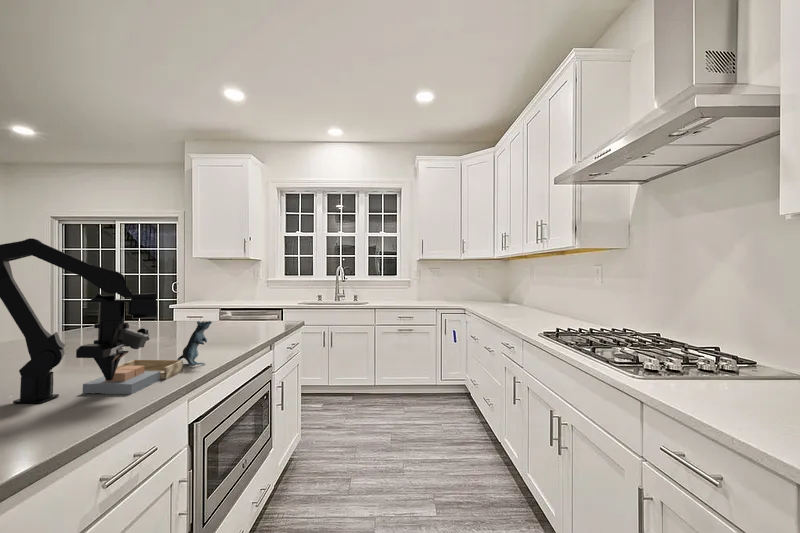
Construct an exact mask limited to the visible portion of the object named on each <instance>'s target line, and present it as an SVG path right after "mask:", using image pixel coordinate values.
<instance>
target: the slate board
mask: <svg viewBox="0 0 800 533" xmlns="http://www.w3.org/2000/svg"><path fill="white" fill-rule="evenodd" d="M159 381H160V371H144V373H143V374H140V375H138V376H136V377H133V378H131V379H129V380H126V381H105V377H104V375H103V376H101V377H98V378H95V379H93V380H90V381H88V382H84V383H82V394H83V395H88V394H87V393H92V394H91V395H94V394H93V393H101V394H100V395H133V394H134V393H137V392H139V391H141V390H142V389H144V388H146V387H149V386H150V385H152V384H155V383H156V382H159ZM85 393H86V394H85ZM102 393H103V394H102ZM104 393H105V394H104Z"/></svg>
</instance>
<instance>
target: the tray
mask: <svg viewBox="0 0 800 533" xmlns="http://www.w3.org/2000/svg"><path fill="white" fill-rule="evenodd" d="M183 364H184V360H183V359H181V360H177V359H133V360H129V361H126V362H124V363H121V364H118V366H117V369H119V368H121V367H124V366H145V371H160V380H161V381H163V380H164V381H166V380H168V379H170V378H172V377H173V376H174V377H175V376H176V375H178V374H180V373H182V372H183V366H184V365H183ZM160 380H159V381H160Z"/></svg>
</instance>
